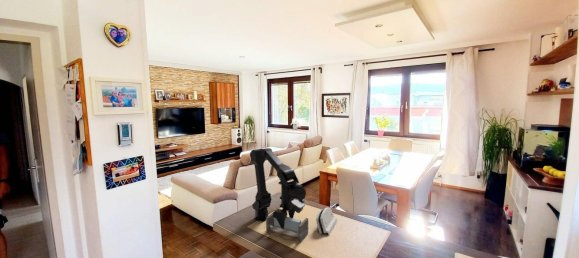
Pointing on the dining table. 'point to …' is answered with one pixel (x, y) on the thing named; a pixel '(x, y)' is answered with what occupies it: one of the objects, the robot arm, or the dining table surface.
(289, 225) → the door panel
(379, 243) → the dining table surface
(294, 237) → the grey open box
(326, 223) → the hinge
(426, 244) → the dining table surface
